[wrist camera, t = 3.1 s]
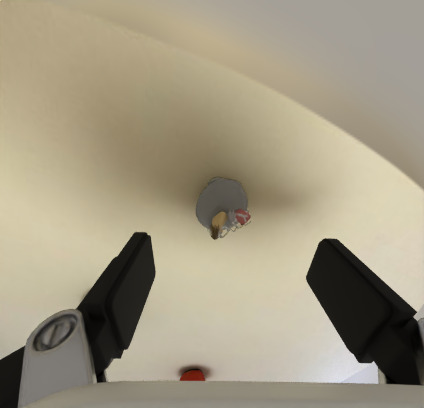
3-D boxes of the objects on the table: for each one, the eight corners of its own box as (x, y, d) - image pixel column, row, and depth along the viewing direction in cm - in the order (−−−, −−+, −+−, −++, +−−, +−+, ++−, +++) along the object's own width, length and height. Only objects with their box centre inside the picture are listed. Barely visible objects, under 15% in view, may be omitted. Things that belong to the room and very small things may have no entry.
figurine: (206, 166, 14) (205, 192, 9) (253, 181, 15) (278, 213, 10) (191, 217, 17) (182, 262, 11) (233, 228, 17) (243, 276, 12)
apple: (185, 360, 29) (178, 432, 22) (215, 369, 31) (217, 439, 24) (169, 375, 31) (159, 444, 25) (198, 382, 33) (195, 449, 26)
